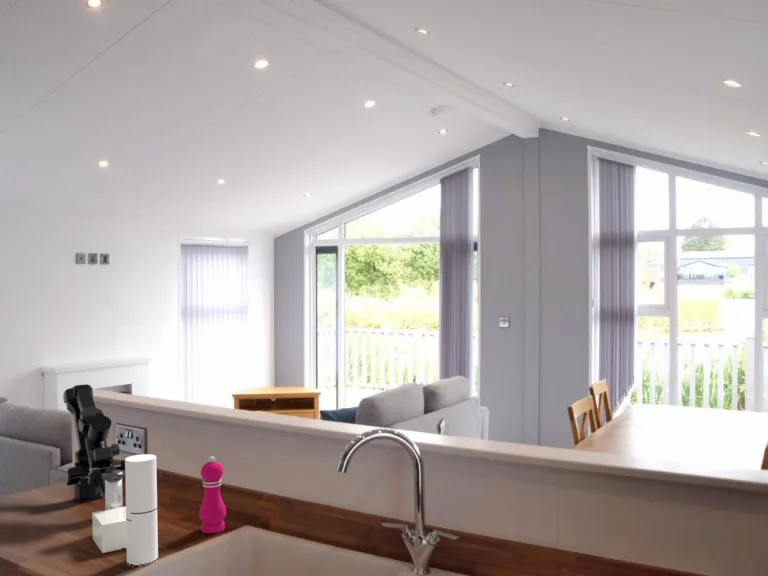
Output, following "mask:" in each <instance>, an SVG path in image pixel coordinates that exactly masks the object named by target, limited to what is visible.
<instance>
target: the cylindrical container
mask: <svg viewBox="0 0 768 576" xmlns="http://www.w3.org/2000/svg"><path fill="white" fill-rule="evenodd" d="M124 460H125V477H124V478H125V479H124V480H125V506H126V537H127V548H126V564H127V563H129V564H133V565H140V564H145V563H149V562H152V561H154V560H156V559H157V558H158V559H159V549H158V548H159V544H158V543H159V539H158V538H159V537H158V535H159V534H158V530H159V529H158V485H157V483H158V482H157V480H158V479H157V476H158V475H157V456H156V455H154V454H152V453H151V454H146V453H145V454H143V453H142V454H135V455H130V456H128V457H125V459H124Z"/></svg>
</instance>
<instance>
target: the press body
mask: <svg viewBox="0 0 768 576" xmlns="http://www.w3.org/2000/svg"><path fill="white" fill-rule="evenodd" d="M91 517H92V539H93V541H94V542H95V544H96V546H97V547H98V549H99V551H101V553H102V554H104V553H105V554H106V553H109V552H113V551H118V550H123V549H122V548H124V549H127V537H126V505H125V506H123V507H120V508H114V509H109V510H105V509H104V510H98V511H94V512H92V516H91Z"/></svg>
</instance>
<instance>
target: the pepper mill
mask: <svg viewBox="0 0 768 576" xmlns="http://www.w3.org/2000/svg"><path fill="white" fill-rule="evenodd" d="M207 459H208V462H206V463H204V464H203V465H202V466H201V468H200V476H201V478H202V479H203V480H202V487H203V488H204V497H203V500H202V502H201V505H200V508H199V511H198V518H199V519H200V521H202V522H201V523H200V530H201V532H202V533H203V534H204V533H205V534H217V533H221V532H223V531H224V530H225V526H226V525H225V521H224V519H225V518H226V517H227V516H226V515H227V508H226V504H225V503H224V501H223V498H222V496H221V486H222V479H221V477H222V476H223V475H224V468H223V466H222V464H221V463H220V462H217V461H216V458H215V456H213V455H211V456H209V457H208V458H207Z"/></svg>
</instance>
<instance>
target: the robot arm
mask: <svg viewBox="0 0 768 576" xmlns="http://www.w3.org/2000/svg"><path fill="white" fill-rule="evenodd" d="M62 398H63V403H64V404H65V405H66V411H68V413H70V414H71V415H73V421H74V427H75V436H76V441H77V447H78V451H77V454H76V457H75V461H74V463H73V466H72V467H68V468H67V469H66V473H65V485H66V486H68V487H70V486H74V497H73V499H74V500H76V501H79V502H83V503H87V502H90V501H94V500H98V499H101V498H103V499H105V479H103V478H102V474H103V473H104V472H107V471H111V470H123V471H124V476H123V477H122V478H125V459H121V460H120V463H119V464H116V465H112V464H113V463H114V457H115V456H116V457H118V456H119V455H120V453H121V451H120V446H119V443H113V444H111V445H110V446H108V442H107V441H108V440H107V439H108V438H109V434H110V431H111V427H112V420H111V419H110V418H109V417H108V416H107V415H105V414H104V412H103V410H102V409H100V408H98V407H97V406H96V404H95V400H94V392H93V387H92V386H91V384H89V383H88V384H87V383H86V384H75V385H73V387H70V388H67V389H65V390H64V391H63V397H62Z"/></svg>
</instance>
